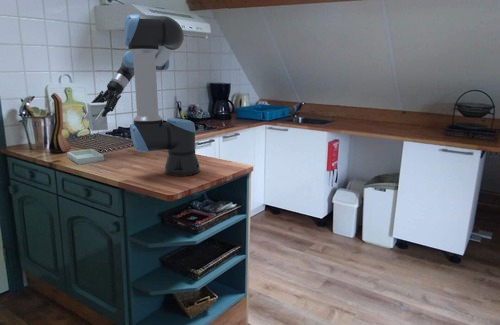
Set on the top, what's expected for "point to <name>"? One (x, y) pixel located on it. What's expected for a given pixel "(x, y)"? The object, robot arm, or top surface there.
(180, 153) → the robot arm
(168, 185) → the top surface
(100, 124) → the supplement box
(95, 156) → the tray
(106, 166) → the top surface
